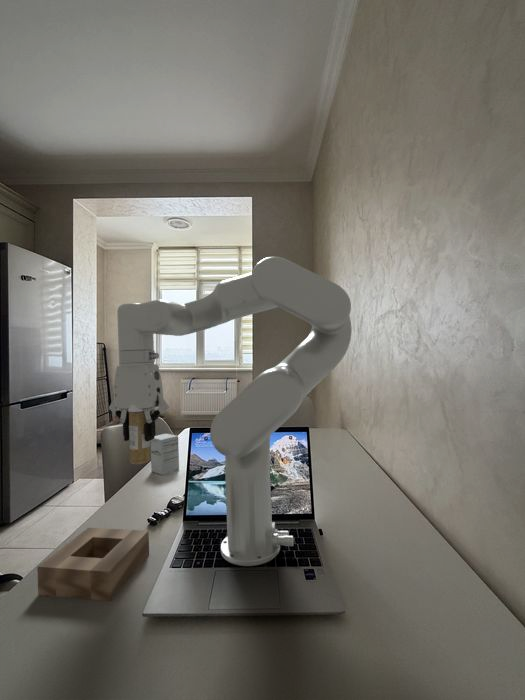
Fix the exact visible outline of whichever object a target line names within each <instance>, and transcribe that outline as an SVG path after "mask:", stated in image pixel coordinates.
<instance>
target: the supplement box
mask: <svg viewBox="0 0 525 700" xmlns="http://www.w3.org/2000/svg"><path fill="white" fill-rule="evenodd" d="M179 449H180V446H179V435H175V434H171V433H161V434H158V435H155V437H154V439H152V440H150V457H151V460H150V464H151V465H150V466H151V467H150V468H151V469H150V471H151V472H152V473H156V474H158V475H161V476H165V475H169V474H172V473H175V472H177V471H179V470H180V460H179V459H180V453H179Z"/></svg>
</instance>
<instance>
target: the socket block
mask: <svg viewBox="0 0 525 700" xmlns="http://www.w3.org/2000/svg"><path fill="white" fill-rule="evenodd" d="M149 540H150V537H149V530H146V529H145V530H143V529H140V530H139V529H123V528H121V529H120V528H106V527H105V528H104V527H103V528H101V527H99V528H98V527H87V528H86V529H85V530H83V531H82V532H81V533H80V534H78V535H77V536H75V537H74V538H73V539H72V540H70V541H69V542H68V543H66V544H65V545H63V547H61V548H60V549H58V551H56V552H54V553H53V554H52V555H50V557H48V558H47V559H46V560H44V561H43V562H41V563H40V564H39V565H38V566H37V567H36V568H37V571H36V572H37V591H38V593H37V595H38V594H39V595H38V596H46V595H49V596H48V597H58V598H59V597H60V598H72V599H80V600H81V599H82V600H95V601H107V602H111V600H112V599H113V598H114V597H115V596H116V595H117V593H118V592H119V591H120V590H121V589H122V588H123V586H124V585H125V584H126V583H127V582H128V580H130V578H131V577H132V576H133V575H134V573H135V572H136V571H137V570H138V569H139V567H141V565H142V564H143V563H144V561H145V560H146V559H147V558H148V557H149V555H150V541H149Z"/></svg>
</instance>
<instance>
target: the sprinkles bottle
mask: <svg viewBox="0 0 525 700" xmlns="http://www.w3.org/2000/svg"><path fill="white" fill-rule="evenodd" d="M128 412H129V440H128V441H129V450H130V452H129V453H130V458H129V462H130V464H133V465H143V464H146V463H148V462H151V440H150V441H145V433H144V424H145V423H147V421H146V417H145V413H144V409H143V410H142V409H138V408H137V407H136V405H131V406H130V408H129V409H128Z"/></svg>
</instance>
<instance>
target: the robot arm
mask: <svg viewBox="0 0 525 700" xmlns="http://www.w3.org/2000/svg"><path fill="white" fill-rule="evenodd" d="M277 308H280V309H282V310H283V311H285V312H287V313H289V314H291V315H293V316H295V317H297V318H299V319H301V320H303V321H304V322H306V323H309V324H310V325H311V330H310V332H309V334H308V335H307V337H306V338H305V339H304V340H303V341H301V342H300V343H299V344H298V345H297V346H296V347H295V348H294V349H293V351H291V353H289V354H288V355H287V356H286V357H285V358H284V359H283V360H282V361H280V362H279V363H278V364H277V365H275V366H274V367H270V368H269V369H265V371H262V372H261V373H260V374H258V375H257V376H256V377H255V378H254V379H253V380H252V381H251V382H249V384H247V385H246V386H245V387H244V388H243V390H241V391H240V392H239V393H238V394H237V395H236V396H234V398H233V399H232V400H231V401H229V402H228V403H227V404H226V405H225V406H223V408H222V409H221V410H220V411H219V412H218V413H217V414H216V416H215V417H214V419H213V420H212V422H211V425H210V435H209V436H210V440H211V443H212V445H213V447H214V449H215V450H216V451H217V452H218V453H219V454H221V455H222V456H224V459H225V461H224V465H225V466H224V467H225V468H224V469H225V470H224V473H225V478H224V479H225V502H226V503H225V504H226V528H227V529H226V531H227V533H226V534H227V536H225V538H224V539H223V540H222V541H221V544H220V554H221V556H222V558H223V559H224V560H225V561H227V563H230V564H232V565H236V566H242V567H253V566H254V567H255V566H259V565H263V564H265V563H269V562H270V561H272V560H273V559H275V558H276V557H277V555H278V554H279V553H280V550H281V546H284V547H294V535H289V534H290V533H289V530H278V528H276V522H275V521H273V520H272V515H273V514H272V495H271V493H272V492H271V461H270V460H271V459H270V453H271V452H270V451H271V450H270V449H271V436H272V434H274V433H275V432H276V431H277V430H278V429H279V428H280V427H281V426H282V425H283V424H284V423H285V422H287V421H288V420H289V419H290V418H291V417H292V416H293V415H294V414H295V413H296V412H297V410H298V409H299V408H300V406H301V404H302V403H303V400H304V399H305V398H306V396H307V395H308V394H309V393H311V391H313V390H314V389H315V387H317V386H318V385H319V384H320V383H321V382H322V381H323V380H324V379H325V378H326V377H327V376H328V375H329V374H330V373H331V372H332V371H333V370H334V369H335V368H336V367H337V366H338V364H339V363H340V362H341V361H342V360H343V358H344V357H345V355H346V353H347V351H348V350H349V347H350V343H351V340H352V339H351V338H352V331H353V330H352V329H353V328H352V323H351V321H352V320H351V316H350V314H351V310H352V302H351V299H350V296H349V295H348V293H347V292H346V290H345V289H344V288H343V287H341V286H340V285H338V284H337V283H336V282H333V281H331V280H329V279H328V278H325V277H323V276H321V275H319V274H317V273H315V272H313V271H311V270H309V269H307V268H304V267H303V266H301V265H299V264H297V263H295V262H293V261H292V260H288V259H287V258H284V257H281V256H273V255H272V256H267V257H265V258H263V259H260V261H258V262H257V263H256V265H254V267H253V269H252V271H251V272H249V273H245V274H242V275H239V276H235V277H232V278H228V279H224V280H221V281H219V282H218V283H217V284H216V286H215V287H214V289H213V291H212V292H211V293H210V294H208V295H207V296H204V297H201V298H199V299H197V300H193V301H189V302H185V303H181V304H180V303H177V302H174V301H170V300H166V299H154V300H150V301H146V302H139V303H138V302H132V303H131V302H130V303H128V302H127V303H124V304H120V305H119V306H118V307H117V317H116V318H117V339H118V340H117V341H118V344H117V345H118V365H116V369H115V374H114V383H113V384H114V385H113V400H112V401H111V402H110V405H109V406H108V409H109V411H111V412H112V413H113V414H115V417H117V418H118V419H119V421H120V423H121V424H122V434H123V441H125V442H128V441H130V440H129V412H128V409H129V408H130V406H131V405H136V407H137V408H138V409H142V410H143V409H144V413H145V417H146V421H147V423H145V424H144V433H145V441H150V442H151V440H152V439H154V437H155V436H156V433H157V432H156V421H157V420H158V418H160V416H161V415H162V414H163V413H165V412H166V411H167V410H168V409H169V408H170V406H169V405H168V403H167V401H166V400H165V399H164V390H163V389H164V388H163V380H162V375H161V371H160V366H159V364H158V363H155V362H156V359H157V360H158V359H159V358H160V354H159V352H155V345H154V343H155V342H154V335H160V336H161V335H162V336H163V335H164V336H176V337H180V336H181V337H182V336H185V335H186V336H187V335H191V334H194V333H198V332H202V331H205V330H208V329H212V328H215V327H217V326H219V325H223V324H225V323H228V322H230V321H233V320H234V321H235V320H236V319H239V318H243V317H247V316H251V315H254V314H258V313H261V312H267V311H270V310H273V309H277ZM157 407H158V408H157ZM156 408H157V409H156Z"/></svg>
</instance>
